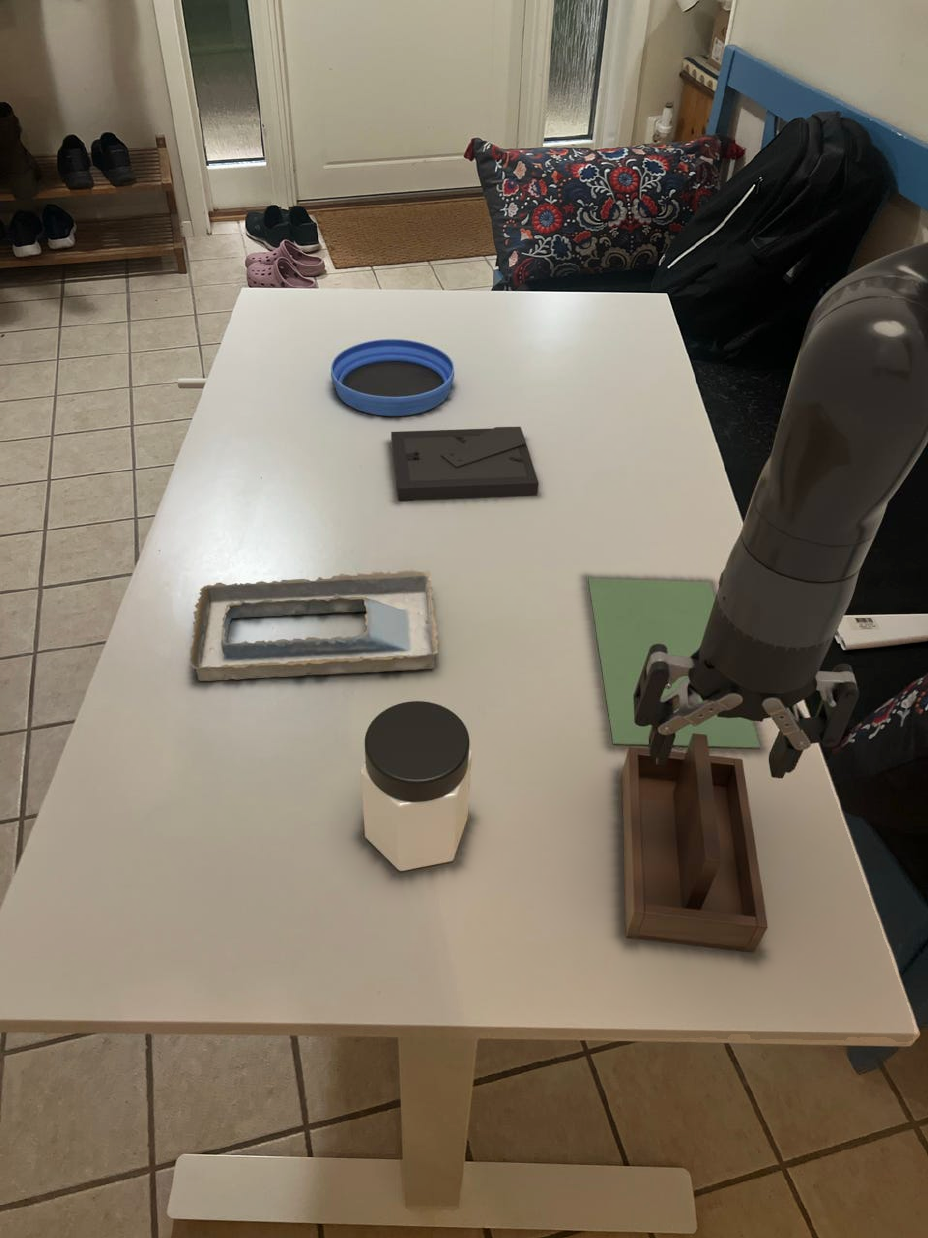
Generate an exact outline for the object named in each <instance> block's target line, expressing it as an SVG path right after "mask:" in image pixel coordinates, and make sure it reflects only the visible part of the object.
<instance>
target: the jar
mask: <svg viewBox="0 0 928 1238" xmlns="http://www.w3.org/2000/svg"><path fill="white" fill-rule="evenodd" d="M470 740H471V739H470V734H469V732H468V729H467V726H466V725H465V723H464V721H463V720H462V719H461V718H460V717H459V716H458V715H457V714H456V713H455V712H454V711H452V710H451V709H449V708H448V707H445V706H443V705H441V704H438V703H435V702H430V701H422V700H411V701H405V702H401V703H397V704H394V705H391V706H390V707H388V708H386V709H384V710H382V711H381V712H380V713H379V714H377V716H375V717H374V719H372V721H371V722H370V723H369V725H368V727H367V729H366V732H365V736H364V763H363V765H362V767H361V770H360V781H361V795H362V796H361V797H362V809H363V811H362V812H363V824H364V837H365V839H367V841H369V843H371V845H372V846H374V848H376V849H377V850H378V851H379V852H380V853H381V854H382V856H384V858H385V859H387V860H388V861H389V862H390V863H391V864H392V865H393V867H394V868H396V869H397V870H398V871H399V872H405V871H410V870H414V869H420V868H424V867H430V866H434V865H440V864H444V863H449V862H453V861H454V860H455V857H456V853H457V850H458V847H459V844H460V841H461V838H462V835H463V833H464V829H465V826H466V823H467V821H468V817H469V816H468V815H469V804H470V803H469V801H470V789H471V776H472V775H471V773H472V762H473V761H472V760H473V751H472V750H471V749H470Z"/></svg>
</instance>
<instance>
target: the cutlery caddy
mask: <svg viewBox="0 0 928 1238" xmlns="http://www.w3.org/2000/svg"><path fill="white" fill-rule="evenodd" d="M709 749H710V747H708V740H707V735H705V734H695V733H693V734H692V737H691V740H690V743H689V746H688V747H687V749H686V752H681V751H674V750H673V751H672V750H671V752H670V755H669V759H668V762H667V765H659V764H656V757H651V756H650V753H649V748H644V747H636V746H629V747H628V748H627V752H626V756H625V760H624V764H623V767H622V772H621V795H622V796H621V799H622V800H621V801H622V803H621V804H622V832H623V833H622V836H623V839H622V841H623V842H622V843H623V875H624V876H623V878H624V916H625V937H626V938H631V939H632V938H633V939H637V940H638V939H639V940H646V941H647V940H649V941H655V942H656V941H657V942H663V943H671V944H672V943H673V944H681V945H689V946H697V947H705V948H713V949H721V950H722V949H723V950H729V951H739V952H747V953H748V952H749V953H755V952H756V950H757V948H758V947H759V944H760V943H761V941H762V939H763V937H764V935H765V933H766V932H767V930H768V927H769V926H768V920H767V919H768V917H767V913H766V905H765V900H764V893H763V886H762V880H761V879H762V878H761V872H760V866H759V861H758V860H759V859H758V853H757V847H756V840H755V833H754V827H753V820H752V814H751V806H750V803H749V802H750V801H749V793H748V787H747V781H746V775H745V774H746V773H745V767H744V760H743V758H737V757H736V758H735V757H730V756H729V757H727V756H719V755H711V754H710V750H709Z"/></svg>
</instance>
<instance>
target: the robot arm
mask: <svg viewBox="0 0 928 1238" xmlns="http://www.w3.org/2000/svg"><path fill="white" fill-rule="evenodd" d="M803 334H804V335H803V338H802V340H801V341H802V342H801V344H800V348H799V350H798V354H797V357H796V360H795V365H794V368H793V370H792V371H793V372H792V375H791V378H790V382H789V386H788V389H787V393H786V397H785V400H784V404H783V407H782V412H781V414H780V419H779V422H778V426H777V429H776V434H775V437H774V443H773V446H772V449H771V454H770V456H769V457H768V459H767V461H766V462H765V464H764V466H763V468H762V470H761V473H760V475H759V476H758V480H757V483H756V485H755V487H754V490H753V493H752V496H751V499H750V502H749V505H748V509H747V512H746V515H745V518H744V520H743V523H742V527H741V530H740V533H739V535H738V537H737V539H736V541H735V543H734V545H733V547H732V549H731V551H730V553H729V555H728V558H727V560H726V563H725V567H724V569H723V570H722V572H721V574H720V576H719V580H718V588H717V592H716V595H715V601H714V604H713V607H712V610H711V614H710V617H709V620H708V623H707V626H706V629H705V632H704V636H703V639H702V643H701V646H700V647H699V649H698V650H697V651H696V652H695V653H693V654H692V655H691V656H690V657H683V656H677V655H670V654H668V651H667V647H666V646H665V645H663V644H654V645H652V646H651V647H650V649H649V652H648V655H647V658H646V661H645V664H644V666H643V669H642V672H641V675H640V678H639V681H638V683H637V686H636V689H635V692H634V695H633V699H634V722H635V724H636V725H638V726H642V727H644V726H648V725H652V727H651V731H650V734H649V738H648V739H649V746H648V749H649V753H650V756H651V757H656V764H659V765H667V762H668V759H669V755H670V752H671V751H672V749H673V747H674V746H673V743H674V740H675V737H676V734H675V732H676V731H678V730H680V729H682V728H683V727H685V726H687V725H689V724H692V725H693V726H697V725H699V724H701V723H702V722H704V721H706V720H708V719H709V718H711V717H713V716H715V715H716V714H717V717H723V718H739V717H740V718H744V719H748V720H751V721H752V722H761V723H763V722H764V720H766V719H772V721H773V723H774V724H775V726H776V727H777V728H778V730H779V731H778V733H777V735H776V737H775V739H774V742H773V744H772V747H771V749H770V751H769V753H768V765H769V770H770V771H769V772H770V776H771V778H774V779H784V778H785V775H786V773H789V774H791V772H793V771H795V769H796V767H797V766H798V765H797V764H798V763H799V761H800V759H801V757H802V755H803V752H804V751H805V750H808V749H809V748H810V747H811V746H812V744H821V745H822V746H823V747H825V748H834V747H836V746H838V745H839V744H840V742H841V740H842V738H843V736H844V733H845V731H846V728H847V726H848V724H849V722H850V719H851V718H852V717H851V716H852V714H853V712H854V710H855V707H856V704H857V702H858V700H859V698H860V692H859V688H858V683H857V680H856V678H855V674H854V672H853V668H852V666H851V665H850V664H848V663H839V664H836V665H835V666H834V667H832V670H831V671H826V670H825V671H824V670H823V671H822V670H820V669H821V666H822V664H823V662H824V660H825V657H826V655H827V654H828V651H829V649H830V647H831V646H832V645H831V644H832V642H833V641H834V638H835V636H836V633H837V632H838V630H839V628H840V625H841V622H842V620H843V619H844V616H845V614H846V612H847V610H848V608H849V606H850V603H851V600H852V598H853V595H854V592H855V589H856V585H857V582H858V578H859V574H860V571H861V568H862V566H863V564H864V562H865V560H866V557H867V554H868V553H869V551H870V548H871V546H872V543H873V542H874V539H875V537H876V535H877V533H878V531H879V528H880V526H881V524H882V521H883V518H884V515H885V513H886V509H887V507H888V503H889V502H890V500H891V499H892V498H893V497H894V495H895V494H896V492H897V491H898V490H899V488H900V487H901V485H902V484H903V482H904V481H905V480H906V478H907V476H908V475H909V474H910V472H911V470H912V469H913V467H914V465H915V464H916V462H917V460H918V459H919V457H920V456H921V455H922V453H923V451H924V449H925V448H926V445H927V444H928V241H925V242H922V243H918V244H916V245H912V246H909V247H906V248H903V249H901V250H897V251H895V252H892V253H890V254H887V255H885V256H882V257H880V258H877V259H875V260H874V261H871V262H869V263H867V264H866V265H864V266H861V267H860V268H858V269H856V270H854V271H853V272H850V273H849V274H847V275H846V276H845V277H843V278H841V279H839V281H837V282H836V283H835V284H833V285H832V286H831V287H830V288H829V289H828V290H827V291H826V292H825V293H824V294H823V296H822V297H821V298H820V299H819V300H818V302H817V303H816V304H815V306H814V308H813V309H812V311H811V314H810V316H809V319H808V321H807V324H806V328H805V331H804V333H803ZM682 676H688V678H686V679H685V680H683V681H682V682H680V684H679V685H678V688H677V689H676V690H675V691H674V692H672V693H671V694H669V695H667V696H666V697H664V698H662V699H661V696H662V694H663V691H664V689H665V688H666V689H670V688H672V684H673V683H675V682H676V680H677V679H678V678H680V677H682ZM816 691H818V692H819V694H820V698H821V699H820V701H819V702H820V703H819V705H818V708H817V710H816V713H815V715H814V716H809V717H806V716H805V714H804V713H803V711H802V710H801V708H800V707H799V705H798V703H800V702H802V701H804V700H805V699H807V698H810V697H811V696H812V695H813V694H814V693H815V692H816ZM698 695H699V696H700V697H701V699H702V700H703V701H702V702H700V703H699V701H698ZM660 699H661V700H660ZM677 709H679V710H678V711H676V712H675V713H674V711H675V710H677Z"/></svg>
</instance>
